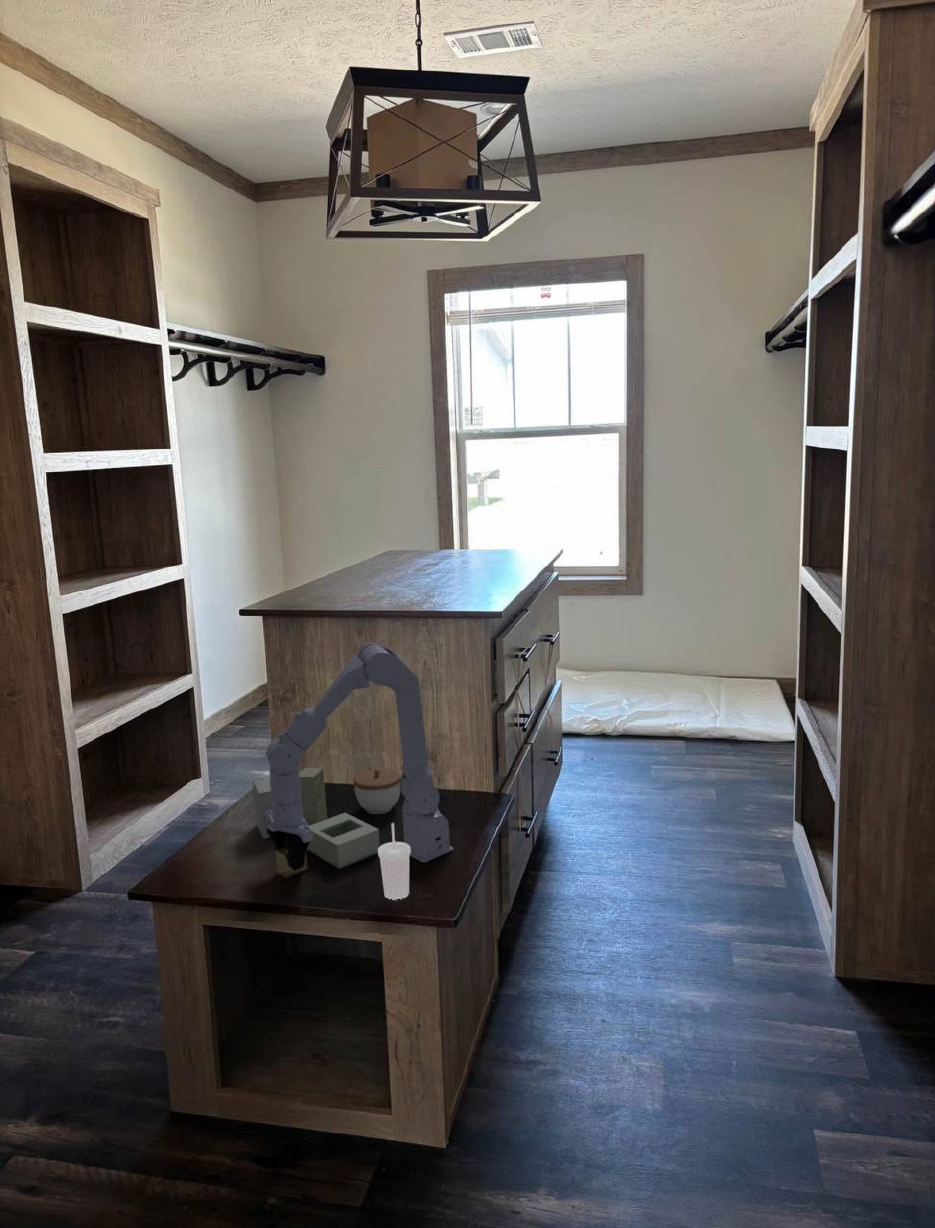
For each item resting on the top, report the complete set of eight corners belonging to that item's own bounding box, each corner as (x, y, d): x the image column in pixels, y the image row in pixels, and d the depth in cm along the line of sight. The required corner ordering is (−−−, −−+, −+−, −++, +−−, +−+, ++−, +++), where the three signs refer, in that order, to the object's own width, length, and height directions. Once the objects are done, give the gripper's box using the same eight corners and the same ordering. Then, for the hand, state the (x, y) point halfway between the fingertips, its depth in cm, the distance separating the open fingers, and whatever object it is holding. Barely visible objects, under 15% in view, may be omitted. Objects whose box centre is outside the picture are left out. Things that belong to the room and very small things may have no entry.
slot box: (380, 852, 184) (378, 829, 183) (339, 869, 177) (337, 845, 176) (346, 834, 193) (345, 812, 192) (306, 849, 186) (304, 827, 185)
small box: (288, 834, 194) (284, 788, 192) (262, 839, 192) (258, 793, 190) (281, 820, 201) (278, 776, 199) (256, 825, 199) (252, 780, 197)
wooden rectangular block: (307, 869, 178) (305, 846, 177) (285, 878, 174) (283, 854, 173) (299, 864, 180) (297, 841, 179) (277, 873, 177) (275, 849, 176)
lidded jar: (356, 800, 210) (354, 762, 209) (402, 798, 211) (400, 760, 209) (353, 819, 200) (351, 780, 198) (402, 817, 200) (399, 777, 199)
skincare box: (317, 830, 195) (313, 777, 193) (298, 829, 196) (294, 776, 194) (328, 818, 201) (324, 767, 199) (309, 817, 202) (305, 766, 200)
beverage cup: (400, 882, 171) (396, 813, 168) (419, 894, 166) (416, 823, 164) (373, 893, 167) (369, 823, 164) (393, 905, 163) (388, 834, 160)
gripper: (249, 795, 177) (255, 859, 180) (288, 816, 166) (293, 884, 169) (281, 785, 181) (286, 847, 184) (320, 805, 171) (325, 871, 174)
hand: (292, 864), depth 177 cm, fingers open, 4 cm apart
